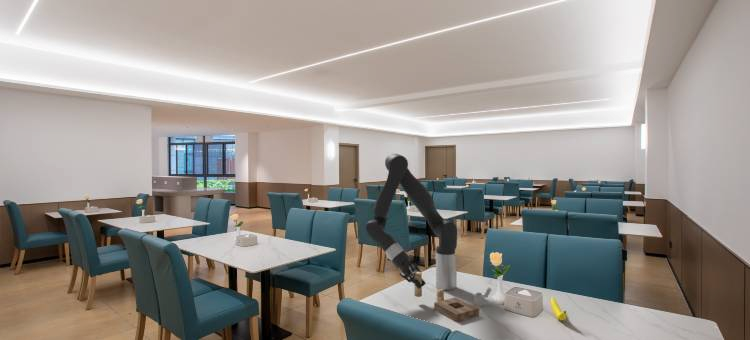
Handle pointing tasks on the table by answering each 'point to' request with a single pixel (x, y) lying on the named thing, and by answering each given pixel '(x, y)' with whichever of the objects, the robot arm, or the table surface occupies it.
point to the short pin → (440, 294)
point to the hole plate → (456, 309)
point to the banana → (558, 310)
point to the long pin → (419, 277)
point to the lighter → (481, 297)
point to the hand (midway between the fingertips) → (422, 286)
